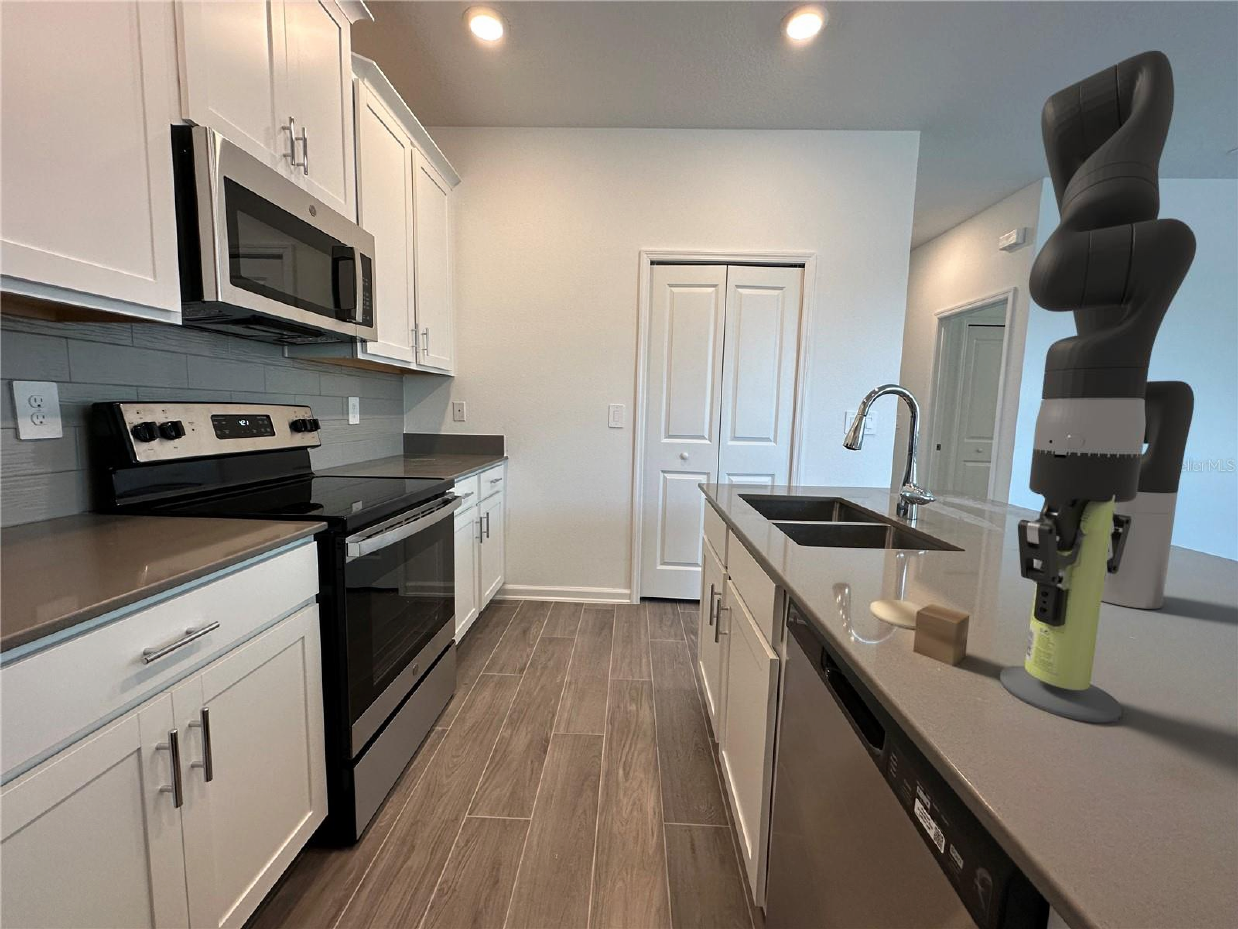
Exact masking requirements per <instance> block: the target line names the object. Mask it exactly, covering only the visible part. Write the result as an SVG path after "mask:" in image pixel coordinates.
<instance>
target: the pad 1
mask: <svg viewBox="0 0 1238 929" xmlns="http://www.w3.org/2000/svg"><path fill="white" fill-rule="evenodd" d="M926 606H927V605H923V604H920V603H915V602H912V601H907V600H906V601H905V600H900V599H879V600H875V601H873V602H871V604H870V608H869V609H870V610H869V611H870V613H871V615H873V616H874V617H876V619H878V620H881V621H883V622H885V623H887V624H890V625H893V626H895V627H898V628H899V627H900V628H903V629H904V628H905V629H909V630H914V631H915V627H916V615H917V611H918V610H920V609H922V608H924V607H926Z"/></svg>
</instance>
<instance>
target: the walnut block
mask: <svg viewBox="0 0 1238 929" xmlns="http://www.w3.org/2000/svg"><path fill="white" fill-rule="evenodd" d="M925 606H926V607H924V608H922V609H920V610H918V611H917V615H916V627H915V630H914V641H913V653H916V654H919V655H921V656H923V657H924V656H925V657H927V658H930V659H933V660H934V661H937V662H940V663H943V664H946V665H948V666H951V667H952V666H954V665H955V664H957V663H958V662H960V661H961V660H962V659H963V658H965V657H966V656H967V646H968V635H969V623H970V614H967V613H964V612H961V611H957V610H954V609H950V608H948V607H943V606H940V605H938V604H937V605H936V604H933V603H930V604H928V605H925Z"/></svg>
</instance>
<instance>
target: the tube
mask: <svg viewBox="0 0 1238 929" xmlns="http://www.w3.org/2000/svg"><path fill="white" fill-rule="evenodd" d="M1114 500H1115V495H1113V498H1112V500H1111V501H1109V502H1091V501H1090V502H1089V503H1088V504H1087V505H1086V508H1085V510H1084V512H1083V515H1082V517H1081V520H1082V521H1081V530H1082V532H1083V533H1084V534H1087V536H1086V537H1085V538H1084V542H1083V549H1082V554H1081V556H1082V557H1081V565H1080V566H1079V567H1075V568H1073V573H1072V577H1071V580H1070V583H1069V586H1068V588H1067V590H1069V592H1068V600H1067V609H1066V617H1065V624H1064V625H1062V626H1058V627H1054V626H1051V625H1049V624H1046V623H1043V622H1040V621H1038V620H1036V619H1035V617H1034V608H1035V599H1036V590H1037V583H1036V582H1035V588H1034V593H1033V594H1034V597H1033V601H1032V608H1031V616H1030V624H1029V630H1028V638H1027V644H1026V645H1027V646H1026V655H1025V662H1024V666H1025V669H1026V670H1027V672H1028V673H1030V674H1031V675H1032V676H1034V677H1035V678H1037V679H1039V680H1041V681H1043V682H1045V683H1048V684H1051V685H1053V686H1057V687H1060V688H1064V689H1069V690H1085V689H1087V688H1089V686H1090V684H1091V681H1092V680H1091V679H1092V673H1093V667H1094V658H1095V650H1096V642H1097V635H1098V628H1099V627H1098V626H1099V620H1100V613H1101V606H1102V601H1101V599H1102V591H1103V584H1104V576H1105V569H1106V561H1107V553H1108V546H1109V538H1110V531H1111V523H1112V516H1113V507H1114ZM1078 531H1079V530H1078ZM1077 534H1078V533H1077ZM1071 552H1072V551H1070V552H1063V551H1057V554H1060V555H1065V556H1066V555H1069V554H1071ZM1060 568H1061V563H1058V574H1059V571H1060Z"/></svg>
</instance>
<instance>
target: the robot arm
mask: <svg viewBox="0 0 1238 929" xmlns="http://www.w3.org/2000/svg"><path fill="white" fill-rule="evenodd" d="M1174 82H1175V81H1174V74H1173V69H1172V65H1171V62H1170V59H1169V58H1168V57H1167V55H1166V53H1164V52H1162V51H1160V50H1148V51H1144V52H1141V53H1138V54H1135V55H1133V56H1130V57H1128V58H1126V59H1123V60H1121V61H1120V62H1117V64H1113V65H1111V66H1109V67H1107V68H1105V69H1103V70H1101V71H1099V72H1096V73H1094V74H1092V75H1090V76H1088V77H1086V78H1083V79H1082V80H1080V81H1077V82H1075V83H1074V84H1071V85H1069V86H1067V87H1065V88H1063V89H1060V90H1059V91H1057V92H1055V93H1054V94H1051V95H1050V96H1049V97H1048V98H1047V100H1046V101H1045V102H1044V104H1043V108H1042V112H1041V118H1040V119H1041V121H1040V124H1041V136H1042V142H1043V147H1044V152H1045V157H1046V162H1047V165H1048V170H1049V175H1050V180H1051V184H1052V186H1053V187H1052V188H1053V191H1054V196H1055V201H1056V204H1057V208H1058V210H1057V211H1058V214H1059V220H1060V221H1059V224H1058V225H1057V227H1056V228H1055V230H1053V232H1052V233H1051V234H1050V236H1049V237H1048V238H1047V240H1045V243H1044V244H1043V246H1042V247H1041V248H1040V250H1039V252H1038V254H1037V256H1036V257H1035V260H1034V262H1033V264H1032V268H1031V270H1030V275H1029V278H1028V291H1029V294H1030V297H1031V299H1032V301H1033V302H1034V303H1035V304H1036V305H1037V306H1038V307H1040V308H1041V309H1043V310H1045V311H1048V312H1053V313H1063V312H1072V313H1073V314H1072V315H1073V318H1074V325H1075V329H1076V335H1072V336H1069V337H1065V338H1062V339H1058V340H1057V341H1055V342H1053V343H1052V344H1051V345H1050V346H1049V348H1048V350H1047V352H1046V356H1045V366H1044V374H1043V382H1042V390H1041V401H1040V407H1039V410H1038V414H1037V417H1036V419H1035V420H1036V422H1035V428H1034V436H1033V447H1032V453H1031V454H1032V456H1031V466H1030V476H1029V485H1028V488H1029V490H1030V491H1031V493H1034V494H1036V495H1041V496H1042V497H1043V498H1044V501H1043V505H1042V507H1041V510H1040V511H1039V512H1040V513H1039V517H1038V518H1037V519H1036V520H1029V519H1028V520H1026V519H1020V520H1019V521H1018V524H1017V534H1018V535H1017V536H1018V537H1017V538H1018V549H1019V550H1018V551H1019V563H1020V564H1019V565H1020V576H1021V577H1022V578H1023V579H1027V580H1031V581H1032V582H1034V583H1035V584H1036V583H1037V590H1036V599H1035V608H1034V617H1035V619H1036V620H1038V621H1040V622H1043V623H1046V624H1049V625H1051V626H1054V627H1058V626H1062V625H1064V624H1065V617H1066V609H1067V600H1068V592H1069V590H1067V588H1068V586H1069V583H1070V580H1071V577H1072V573H1073V568H1075V567H1079V566H1080V565H1081V557H1082V556H1081V554H1082V549H1083V542H1084V538H1085V537H1086V536H1087V534H1084V533H1083V532H1082V530H1081V521H1082V520H1081V517H1082V515H1083V512H1084V510H1085V508H1086V505H1087V504H1088V503H1089V502H1090V501H1091V502H1109V501H1111V500H1112V498H1113V495H1115V500H1114V507H1113V516H1112V523H1111V531H1110V538H1109V546H1108V553H1107V561H1106V569H1105V576H1104V584H1103V591H1102V599H1101V602H1105V603H1109V604H1115V605H1119V606H1123V607H1130V608H1135V609H1136V608H1137V609H1149V610H1150V609H1160V608H1162V607H1163V605H1164V604H1163V603H1164V596H1165V590H1166V582H1167V575H1168V568H1169V559H1170V554H1171V546H1172V539H1173V530H1174V523H1175V516H1176V509H1177V508H1176V506H1177V500H1178V494H1179V493H1178V492H1179V487H1180V486H1179V485H1180V480H1181V476H1182V471H1183V464H1184V463H1183V462H1184V457H1185V452H1186V447H1187V442H1188V437H1189V433H1190V429H1191V424H1192V420H1193V417H1194V416H1193V415H1194V409H1195V394H1194V391H1193V389H1192V386H1190V385H1189V383H1187V382H1186V381H1182V380H1152V381H1150V380H1149V381H1148V376H1149V369H1150V363H1151V357H1152V352H1153V349H1154V348H1153V347H1154V344H1155V342H1156V339H1157V335H1158V332H1159V330H1160V327H1161V326H1162V323H1163V321H1164V318H1165V316H1166V314H1167V312H1168V310H1169V308H1170V306H1171V304H1172V302H1173V300H1174V298H1175V296H1176V294H1177V293H1178V291H1179V289H1180V287H1181V286H1182V284H1183V282H1184V280H1185V278H1186V276H1187V274H1188V273H1189V271H1190V268H1191V266H1192V264H1193V262H1194V259H1195V256H1196V252H1197V239H1196V235H1195V234H1194V231H1193V230H1192V229H1191V228H1190V226H1189V225H1188V224H1187V223H1185V222H1184V221H1182V220H1179V219H1177V218H1170V217H1169V218H1159V215H1160V214H1159V213H1160V210H1161V202H1160V201H1161V200H1160V185H1159V184H1160V183H1159V182H1160V181H1159V180H1160V179H1159V167H1160V161H1161V157H1162V155H1163V152H1164V148H1165V144H1166V142H1167V139H1168V134H1169V130H1170V127H1171V121H1172V117H1173V112H1174V107H1175V106H1174V105H1175V85H1174ZM1144 445H1147V447H1146V449H1145V451H1144V452H1143V450H1144V449H1143V448H1144ZM1078 530H1079V531H1078ZM1077 533H1078V534H1077ZM1057 551H1063V552H1070V551H1072V552H1071V554H1069V555H1066V556H1065V555H1060V554H1057ZM1034 560H1036V562H1035V561H1034ZM1034 562H1035V563H1034ZM1058 563H1061V568H1060V571H1059V574H1058Z"/></svg>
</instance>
